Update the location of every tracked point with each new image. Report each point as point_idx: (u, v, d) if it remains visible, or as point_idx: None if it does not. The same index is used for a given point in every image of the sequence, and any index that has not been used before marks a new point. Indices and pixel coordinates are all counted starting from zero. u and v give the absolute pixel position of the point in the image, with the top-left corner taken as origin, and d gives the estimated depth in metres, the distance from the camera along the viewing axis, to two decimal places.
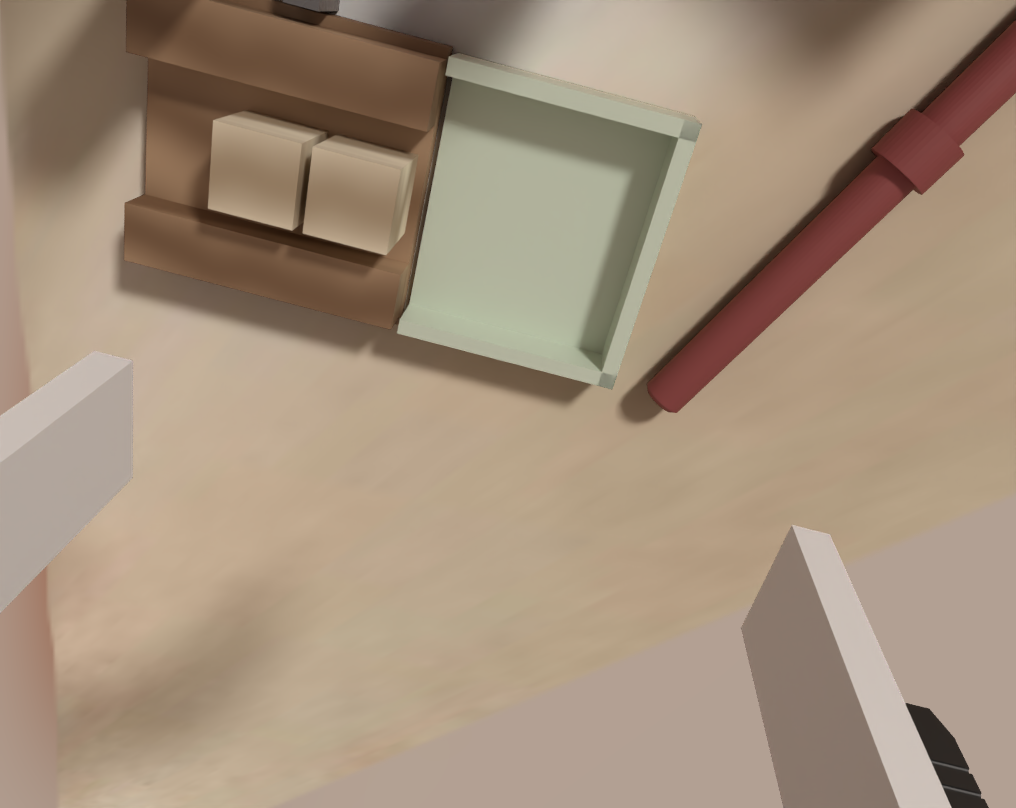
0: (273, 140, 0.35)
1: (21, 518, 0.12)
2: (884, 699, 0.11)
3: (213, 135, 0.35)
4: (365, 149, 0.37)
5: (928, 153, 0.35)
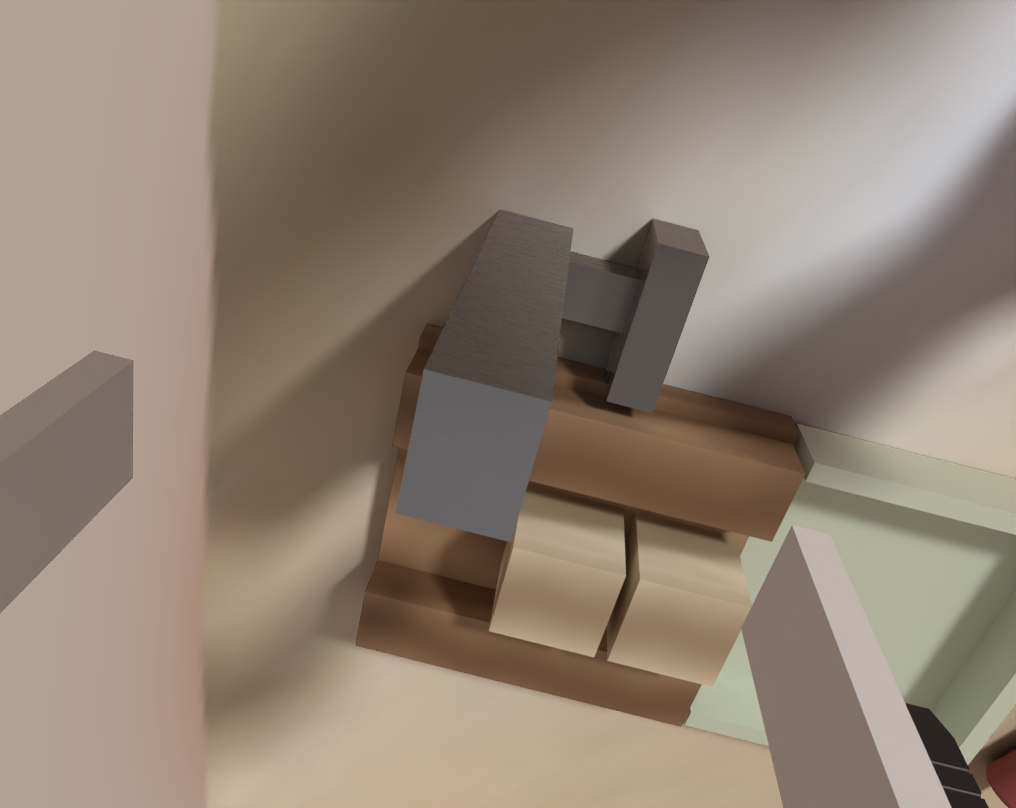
0: (589, 571, 0.27)
1: (22, 518, 0.12)
2: (884, 699, 0.11)
3: (510, 562, 0.27)
4: (686, 554, 0.29)
5: None
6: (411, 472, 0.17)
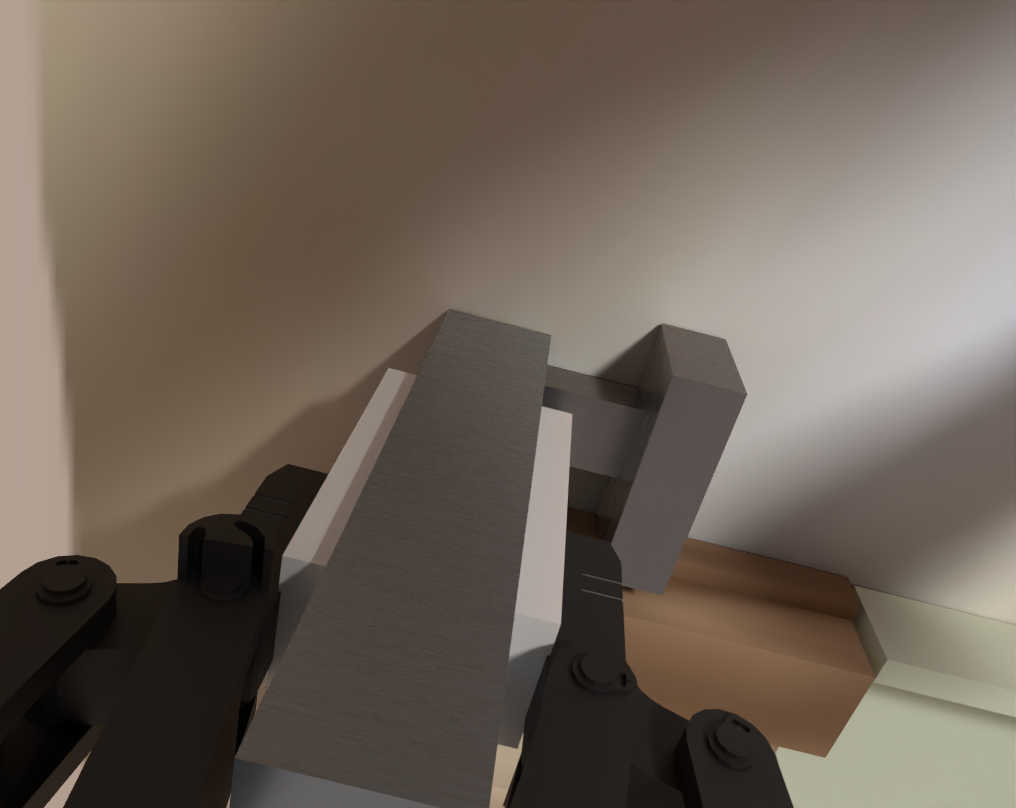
0: None
1: None
2: (547, 521, 0.13)
3: None
4: None
5: None
6: None
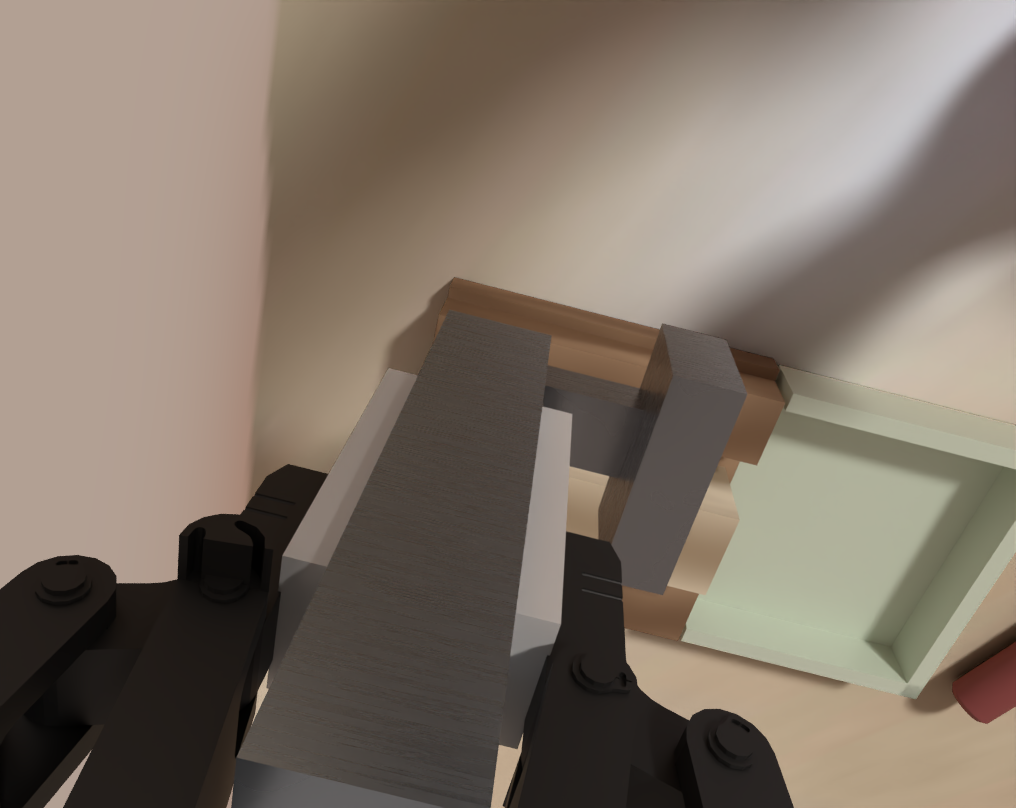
0: (598, 488, 0.31)
1: None
2: (547, 521, 0.13)
3: None
4: None
5: None
6: None
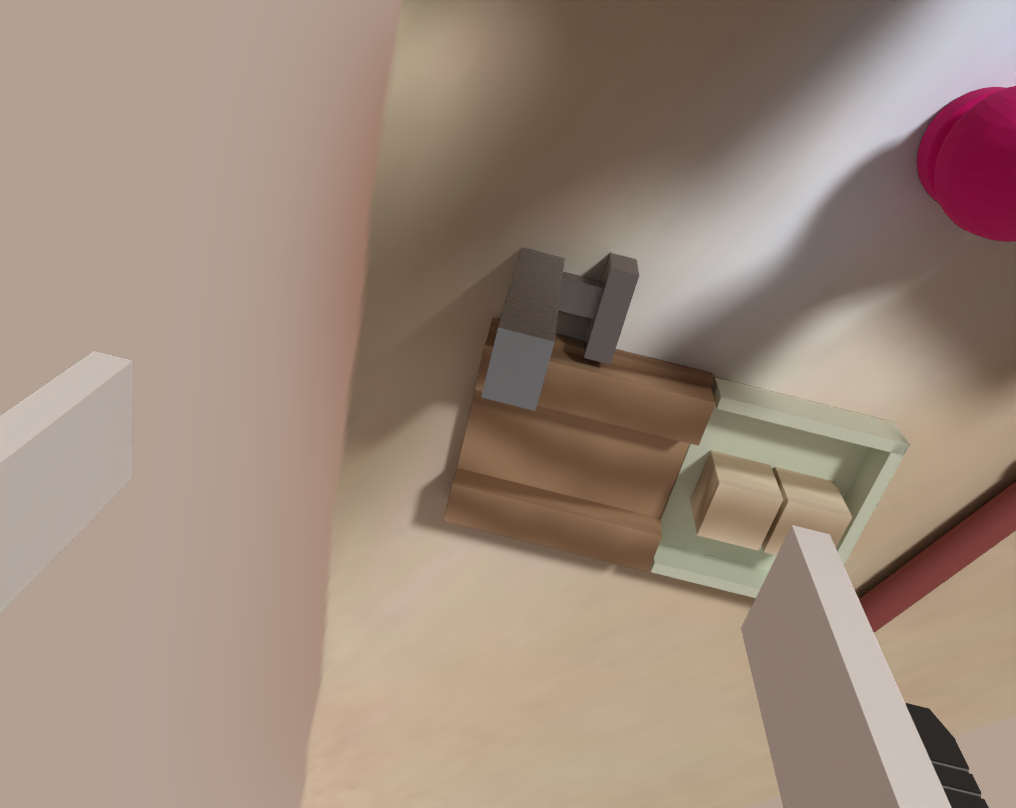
0: (762, 496, 0.48)
1: (21, 518, 0.12)
2: (884, 699, 0.11)
3: (716, 492, 0.48)
4: (809, 489, 0.49)
5: None
6: (489, 376, 0.36)
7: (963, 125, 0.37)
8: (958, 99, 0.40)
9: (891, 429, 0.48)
